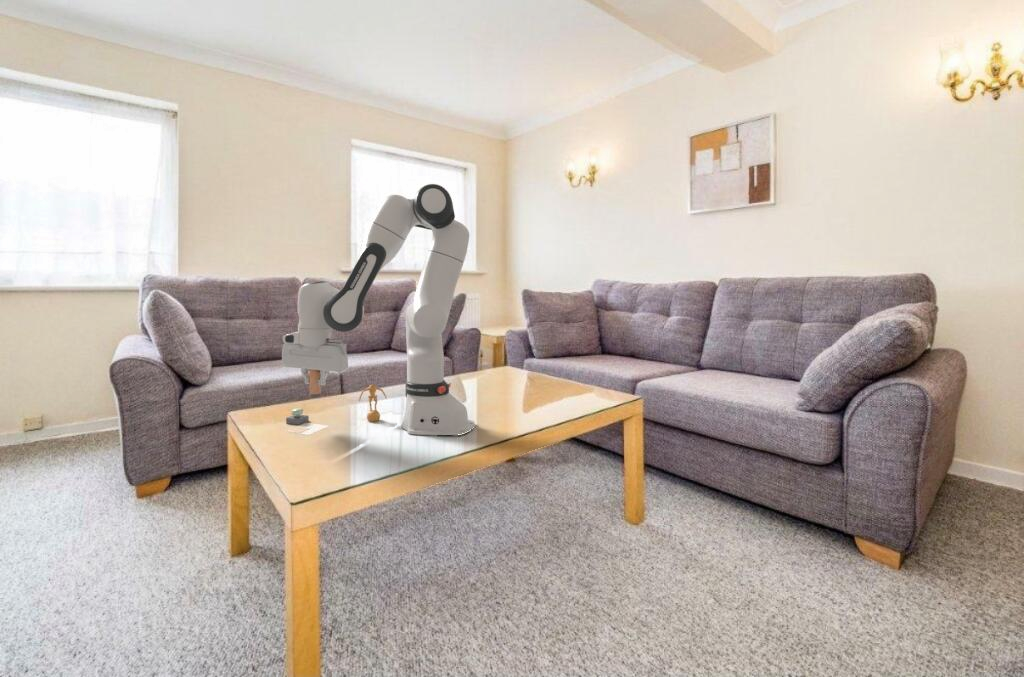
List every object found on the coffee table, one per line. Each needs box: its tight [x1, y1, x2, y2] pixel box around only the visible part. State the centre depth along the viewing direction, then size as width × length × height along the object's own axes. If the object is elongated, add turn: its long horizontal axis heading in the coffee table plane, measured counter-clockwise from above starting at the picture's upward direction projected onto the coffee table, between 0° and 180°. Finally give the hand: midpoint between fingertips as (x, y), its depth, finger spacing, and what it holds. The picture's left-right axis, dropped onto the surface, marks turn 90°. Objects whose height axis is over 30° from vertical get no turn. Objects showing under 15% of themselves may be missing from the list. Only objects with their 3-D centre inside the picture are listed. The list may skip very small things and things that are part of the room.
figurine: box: [358, 383, 387, 423], centre depth 146 cm, size 8×6×12 cm
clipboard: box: [283, 414, 330, 436], centre depth 137 cm, size 14×12×2 cm
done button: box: [290, 407, 304, 418], centre depth 142 cm, size 3×3×3 cm
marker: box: [309, 369, 322, 399], centre depth 136 cm, size 3×3×9 cm
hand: (315, 384), depth 136 cm, fingers closed on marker, 3 cm apart
